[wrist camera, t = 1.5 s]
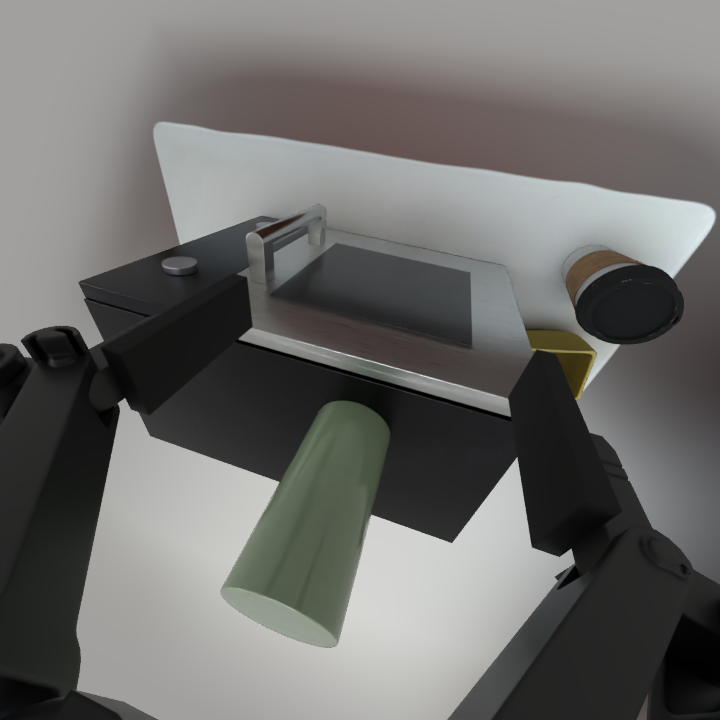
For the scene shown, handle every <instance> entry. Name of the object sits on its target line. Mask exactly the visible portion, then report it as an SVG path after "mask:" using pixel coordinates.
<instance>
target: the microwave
mask: <svg viewBox="0 0 720 720" xmlns="http://www.w3.org/2000/svg"><path fill="white" fill-rule="evenodd" d="M276 221H279V220H278V219H274V218H269V217H264V216H260V217H257V218H254V219H251V220H248V221H246V222H243V223H240V224H237V225H235V226H232V227H229V228H226V229H224V230H221V231H218V232H215V233H212V234H210V235H207V236H204V237H201V238H199V239H196V240H193V241H190V242H188V243H185V244H182V245H179V246H176V247H174V248H171V249H168V250H166V251H163V252H160V253H157V254H154V255H152V256H149V257H146V258H143V259H140V260H138V261H135V262H132V263H129V264H127V265H124V266H121V267H118V268H116V269H113V270H110V271H108V272H104V273H102V274H99V275H96V276H93V277H91V278H88V279H85V280H82V281H80V282H79V285H80V287H81V289H82V291H83V293H84V295H85V297H86V299H84V301H85V303H86V304H87V306H88V309H89V311H90V313H91V315H92V317H93V319H94V321H95V323H96V325H97V327H98V329H99V331H100V333H101V336H102V338H103V340H104V341H105V340H107V339H109V338H111V337H113V336H114V335H116V334H118V333H120V332H122V331H125V330H126V329H127V328H129V327H131V326H133V325H134V326H135V324H136V323H138V322H140V321H142V320H144V319H145V318H147V317H151V316H154V315H157V314H160V313H163V312H164V311H166V310H168V309H170V308H172V307H173V306H175V305H177V304H179V303H181V302H182V301H184V300H186V299H188V298H190V297H191V296H193V295H195V294H197V293H198V292H200V291H202V290H204V289H206V288H207V287H209V286H211V285H213V284H215V283H216V282H218V281H220V280H222V279H224V278H225V277H227V276H229V275H231V274H232V273H233V274H238V273H239V272H241V271H243V270H245V269H246V268H248V267H249V263H248V253H247V244H246V236H247V235H248V233H250V232H253V231H255V230H257V229H260V228H262V227H265V226H267V225H269V224H272V223H274V222H276ZM308 229H309V226H308V227H306V228H304V229H302V230H300V231H298V232H296V233H295V234H293V235H291V236H289V237H287V238H285V239H283V240H281V241H280V242H278V243H276V244H274V245H273V251H274V252H276V251H278V250H279V249H281V248H283V247H285V246H286V245H288V244H290V243H292V242H293V241H295V240H297V239H299V238H300V237H302V236H304V235H306V234H307V233H308ZM333 401H352V402H356V403H359V404H362V405H364V406H367V407H369V408H370V409H372V410H373V411H375V412H376V413H377V414H379V415H380V416H381V417H382V418H383V419H384V421H385V422H386V424H387V425H388V427H389V430H390V435H391V438H390V443H389V447H388V451H387V455H386V459H385V463H384V467H383V471H382V475H381V478H380V482H379V486H378V490H377V494H376V498H375V502H374V506H373V510H372V513H371V514H372V515H374V516H377V517H380V518H383V519H386V520H389V521H391V522H394V523H397V524H400V525H403V526H405V527H408V528H411V529H414V530H417V531H420V532H422V533H425V534H428V535H431V536H434V537H437V538H439V539H442V540H445V541H448V542H451V543H452V542H453V541H454V540H455V538H456V537H457V536H458V534H459V533H460V532H461V530H462V529H463V528H464V526H465V525H466V524H467V523H468V521H469V520H470V519H471V517H472V516H473V515H474V513H475V512H476V511H477V509H478V508H479V507H480V505H481V504H482V503H483V501H484V500H485V499H486V497H487V496H488V495H489V494H490V492H491V491H492V490H493V488H494V487H495V486H496V484H497V483H498V481H499V480H500V479H501V478H502V476H503V475H504V474H505V472H506V471H507V470H508V468H509V467H510V466H511V464H512V463H513V462H514V460H515V459H516V458H517V451H516V445H515V438H514V432H513V426H512V420H511V417H509V416H505V415H502V414H498V413H494V412H491V411H487V410H484V409H480V408H477V407H473V406H470V405H466V404H463V403H459V402H456V401H452V400H449V399H445V398H442V397H438V396H435V395H431V394H428V393H424V392H421V391H417V390H414V389H410V388H407V387H403V386H400V385H396V384H393V383H389V382H386V381H382V380H379V379H375V378H372V377H368V376H365V375H361V374H358V373H354V372H351V371H347V370H343V369H340V368H336V367H333V366H329V365H326V364H322V363H319V362H315V361H312V360H308V359H305V358H301V357H298V356H294V355H291V354H287V353H284V352H280V351H277V350H273V349H270V348H266V347H263V346H259V345H256V344H252V343H249V342H245V341H242V340H237V341H235V342H234V343H233V344H232V345H231V346H230V347H229V348H227V349H226V350H225V351H224V352H223V353H222V354H220V355H219V356H218V357H217V358H216V359H215V360H213V361H212V362H211V363H210V364H209V365H208V366H206V367H205V368H204V369H203V370H202V371H201V372H199V373H198V374H197V375H196V376H195V377H194V378H192V379H191V380H190V381H189V382H188V383H187V384H185V385H184V386H183V387H182V388H181V389H180V390H178V391H177V392H176V393H175V394H174V395H173V396H172V397H170V398H169V399H168V400H167V401H166V402H165V403H163V404H162V405H161V406H160V407H159V408H158V409H156V410H155V411H154V412H153V413H152V414H151V415H146V414H143V413H140V412H139V414H140V416H141V418H142V420H143V422H144V424H145V426H146V428H147V430H148V432H149V434H150V436H152V437H155V438H158V439H160V440H163V441H166V442H169V443H172V444H175V445H177V446H180V447H183V448H186V449H189V450H191V451H195V452H197V453H200V454H203V455H205V456H208V457H211V458H214V459H217V460H219V461H222V462H225V463H228V464H231V465H234V466H236V467H239V468H242V469H245V470H248V471H250V472H253V473H256V474H259V475H262V476H265V477H268V478H270V479H273V480H276V481H279V482H280V481H281V479H282V477H283V476H284V474H285V472H286V470H287V468H288V466H289V465H290V463H291V461H292V459H293V457H294V456H295V454H296V452H297V450H298V448H299V446H300V445H301V443H302V441H303V439H304V437H305V436H306V434H307V432H308V430H309V428H310V426H311V425H312V423H313V421H314V419H315V417H316V415H317V414H318V412H319V410H320V409H321V408H322V407H323V406H324V405H326V404H328V403H330V402H333Z"/></svg>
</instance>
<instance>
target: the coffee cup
mask: <svg viewBox="0 0 720 720" xmlns="http://www.w3.org/2000/svg"><path fill="white" fill-rule="evenodd" d="M562 277H563V279H564V281H565V284H566V287H567V290H568V293H569V295H570V298H571V301H572V304H573V307H574V309H575V314H576V319H577V321H578V323H579V325H580V326H581V327H582V328H583V329H584V331H586V332H587V333H589V334H590V335H592V336H594V337H596V338H598V339H600V340H602V341H605V342H608V343H613V344H637V343H642V342H647V341H650V340H652V339H655V338H657V337H659V336H661V335H663V334H664V333H666V332H667V331H668V330H670V329H671V328H672V327H673V326H675V325H676V324H677V323H678V322H679V321H680V319H681V317H682V314H683V309H684V298H683V296H682V293H681V292H680V291H679V290H678V288H677V285H676V283H675V282H674V280H673V279H672V278H671V277H670V276H669V275H668V274H667V273H666V272H664V271H663V270H661V269H659V268H656V267H653V266H648V265H645V264H643V263H640V262H638V261H636V260H633V259H631V258H629V257H626V256H624V255H622V254H619V253H617V252H615V251H612V250H610V249H608V248H606V247H604V246H600V245H589V246H585V247H582V248H580V249H578V250H576V251H575V252H573V253H572V254H571V255H570V256H569V257H568V258H567V259H566V261H565V262H564V264H563V267H562Z"/></svg>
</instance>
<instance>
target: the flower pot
mask: <svg viewBox="0 0 720 720" xmlns="http://www.w3.org/2000/svg"><path fill="white" fill-rule="evenodd" d="M526 333H527V336H528V340H529V343H530V346H531V349H532V353H533V354H534V353H535V351H536V349H538V350H542V351H546V352H550V353H554V354H556V355H557V357H558V359H559V362H560V364H561V366H562V369H563V371H564V374H565V376H566V378H567V381H568V383H569V385H570V388H571V390H572V393H573V395H574V397H575V400H576V401H577V400H579V399H580V397H581V394H582V392H583V389H584V386H585V383H586V381H587V378H588V376H589V373H590V371H591V368H592V366H593V363H594V361H595V358H596V355H597V352H596V351H595V350H594V349H593V348H592V347H590V346H589V345H588V344H587V343H586V342H585V341H584V340H583V339H582V338H581V337H579V336H578V335H576V334H573V333H570V332H565V331H549V330H526Z"/></svg>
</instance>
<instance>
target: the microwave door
mask: <svg viewBox="0 0 720 720" xmlns="http://www.w3.org/2000/svg"><path fill="white" fill-rule="evenodd" d="M308 226H309V229H308V233H307V234H306V235H304V236H302V237H300V238H299V239H297V240H295V241H293V242H292V243H290V244H288V245H286V246H285V247H283V248H281V249H279V250H278V251H276V252H274V251H273V245H274V244H276V243H278V242H280V241H281V240H283V239H285V238H287V237H289V236H291V235H293V234H295V233H296V232H298V231H300V230H302V229H304V228H306V227H308ZM246 244H247V253H248V263H249V267H248V268H246V269H245V270H243V271H241V272H239V273H238V274H237V275H241V276H245V277H247V280H248V289H249V298H250V307H251V315H252V324H253V327H252V328H251V329H249V330H248V331H247V332H246V333H245V334H244V335H242V336H241V337H240V338H239V339H238V340H242V341H245V342H249V343H252V344H256V345H259V346H263V347H266V348H270V349H273V350H277V351H280V352H284V353H287V354H291V355H294V356H298V357H301V358H305V359H308V360H312V361H315V362H319V363H322V364H326V365H329V366H333V367H336V368H340V369H343V370H347V371H351V372H354V373H358V374H361V375H365V376H368V377H372V378H375V379H379V380H382V381H386V382H389V383H393V384H396V385H400V386H403V387H407V388H410V389H414V390H417V391H421V392H424V393H428V394H431V395H435V396H438V397H442V398H445V399H449V400H452V401H456V402H459V403H463V404H466V405H470V406H473V407H477V408H480V409H484V410H487V411H491V412H494V413H498V414H502V415H505V416H509V417H511V413H510V407H509V401H508V396H509V394H510V393H511V391H512V389H513V388H514V386H515V384H516V383H517V381H518V379H519V378H520V376H521V374H522V373H523V371H524V369H525V368H526V366H527V364H528V363H529V361H530V359H531V358H532V356H533V353H532V349H531V346H530V343H529V340H528V336H527V333H526V330H525V327H524V323H523V320H522V317H521V314H520V311H519V307H518V304H517V301H516V298H515V294H514V291H513V288H512V285H511V282H510V278H509V275H508V272H507V269H506V266H502V265H497V264H493V263H488V262H483V261H479V260H474V259H469V258H464V257H460V256H455V255H450V254H446V253H441V252H436V251H432V250H427V249H422V248H418V247H413V246H408V245H404V244H399V243H394V242H389V241H385V240H380V239H375V238H371V237H366V236H361V235H357V234H352V233H347V232H343V231H338V230H333V229H328V228H326V208H325V207H324V206H323V205H322V204H317V205H315V206H312V207H310V208H307V209H305V210H303V211H300V212H298V213H296V214H293V215H291V216H288V217H286V218H284V219H281V220H279V221H276V222H274V223H272V224H269V225H267V226H265V227H262V228H260V229H257V230H255V231H253V232H250V233H248V235H247V236H246Z"/></svg>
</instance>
